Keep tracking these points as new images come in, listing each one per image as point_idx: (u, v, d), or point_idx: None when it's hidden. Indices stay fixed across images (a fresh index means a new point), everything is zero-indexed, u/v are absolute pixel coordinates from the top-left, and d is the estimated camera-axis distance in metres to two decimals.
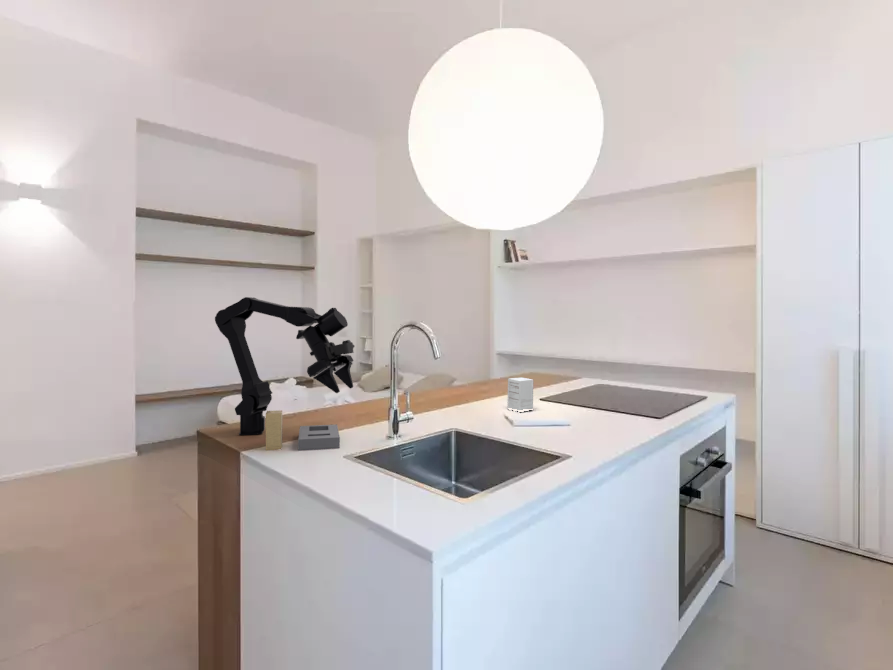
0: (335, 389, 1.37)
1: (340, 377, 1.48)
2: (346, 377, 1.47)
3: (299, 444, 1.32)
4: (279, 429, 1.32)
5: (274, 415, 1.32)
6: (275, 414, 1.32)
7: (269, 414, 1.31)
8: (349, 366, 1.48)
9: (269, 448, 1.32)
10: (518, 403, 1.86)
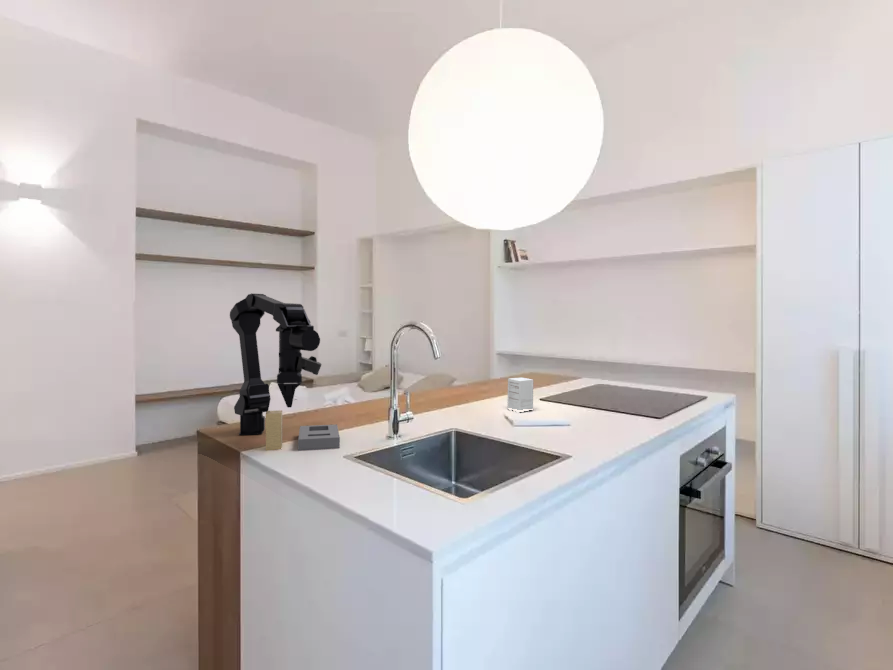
0: (289, 403, 1.31)
1: None
2: None
3: (299, 444, 1.32)
4: (279, 429, 1.32)
5: (274, 415, 1.32)
6: (275, 414, 1.32)
7: (269, 414, 1.31)
8: None
9: (269, 448, 1.32)
10: (518, 403, 1.86)
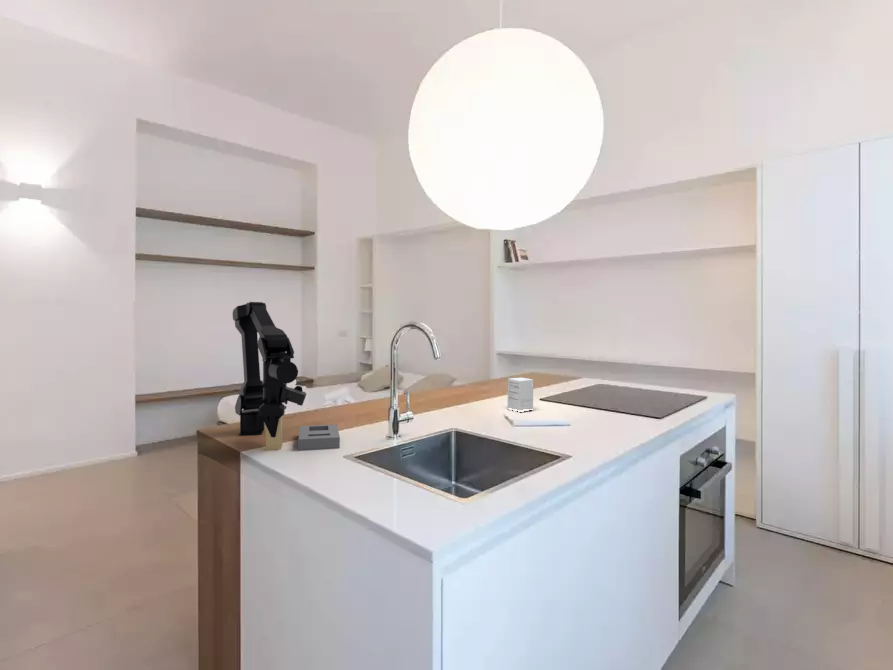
0: (273, 433, 1.31)
1: None
2: None
3: (299, 444, 1.32)
4: (279, 429, 1.32)
5: None
6: None
7: None
8: None
9: (269, 448, 1.32)
10: (518, 403, 1.86)
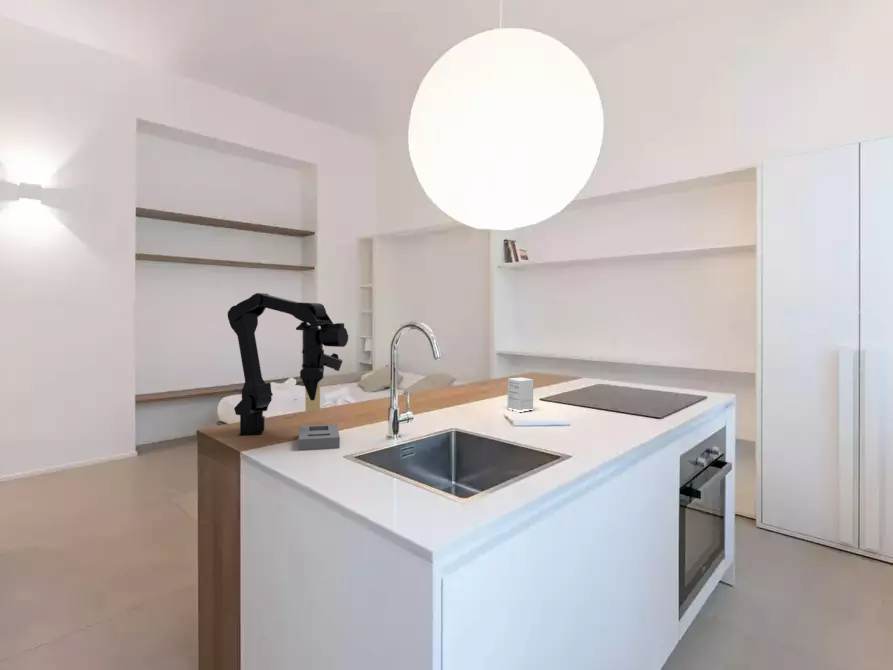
0: (312, 396, 1.40)
1: None
2: None
3: (299, 444, 1.32)
4: (318, 393, 1.41)
5: None
6: None
7: None
8: None
9: (308, 410, 1.40)
10: (518, 403, 1.86)
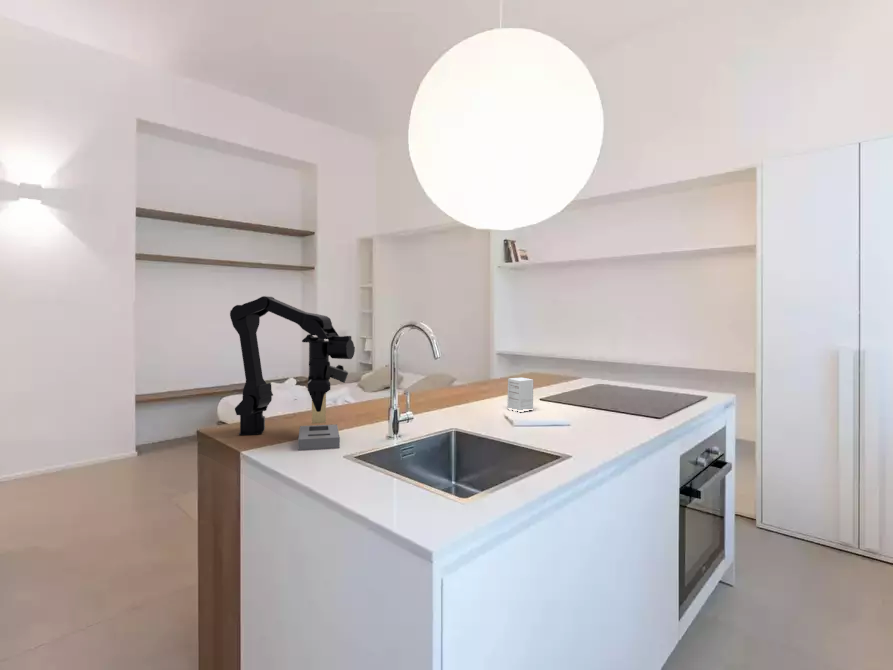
0: (318, 408, 1.42)
1: None
2: None
3: (299, 444, 1.32)
4: (324, 404, 1.43)
5: None
6: None
7: None
8: None
9: (315, 421, 1.42)
10: (518, 403, 1.86)
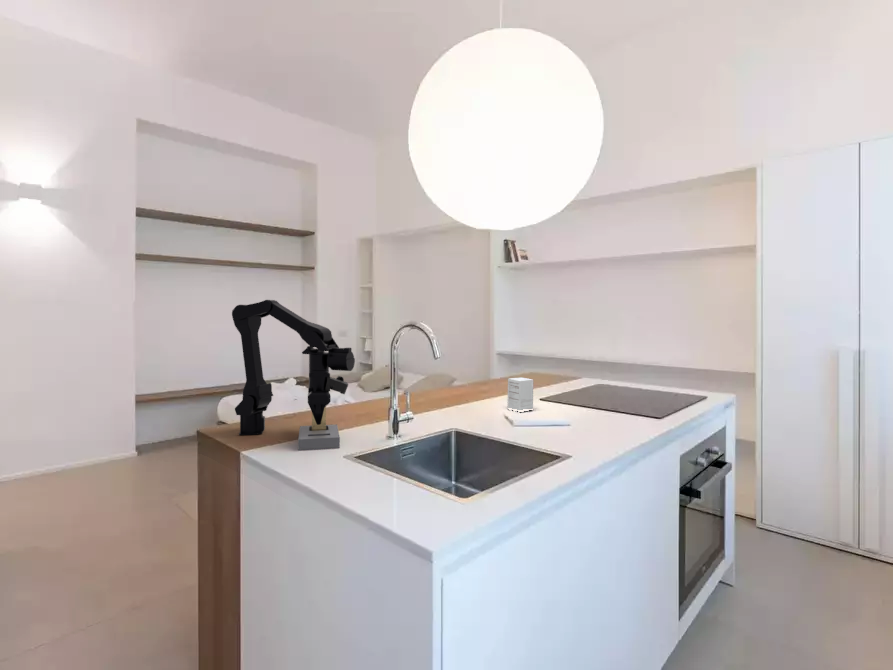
0: (318, 421, 1.40)
1: None
2: None
3: (299, 444, 1.32)
4: (324, 421, 1.43)
5: None
6: None
7: None
8: None
9: None
10: (518, 403, 1.86)
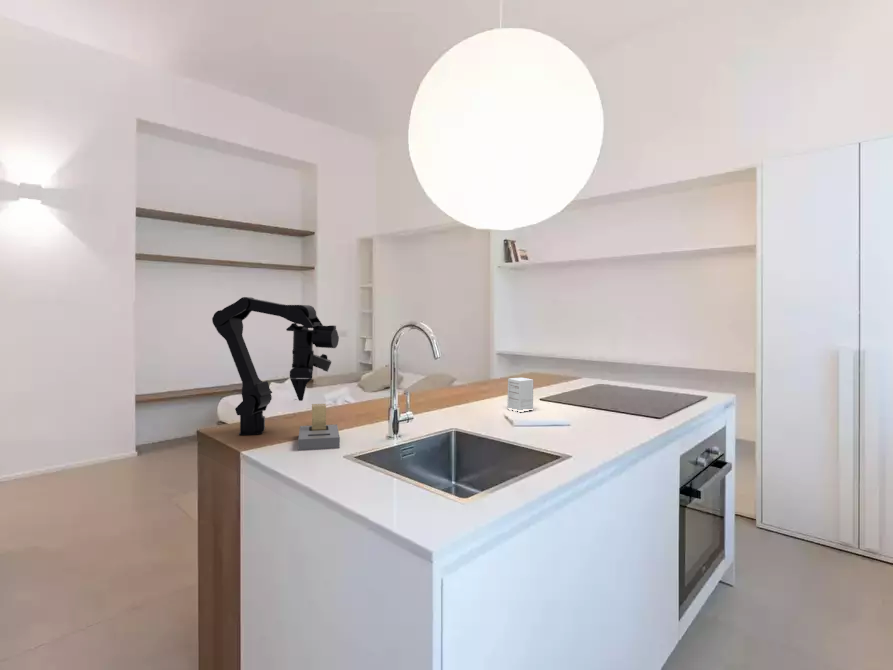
0: (300, 397, 1.42)
1: None
2: None
3: (299, 444, 1.32)
4: (324, 421, 1.43)
5: (319, 408, 1.42)
6: (320, 407, 1.42)
7: (315, 407, 1.42)
8: None
9: None
10: (518, 403, 1.86)
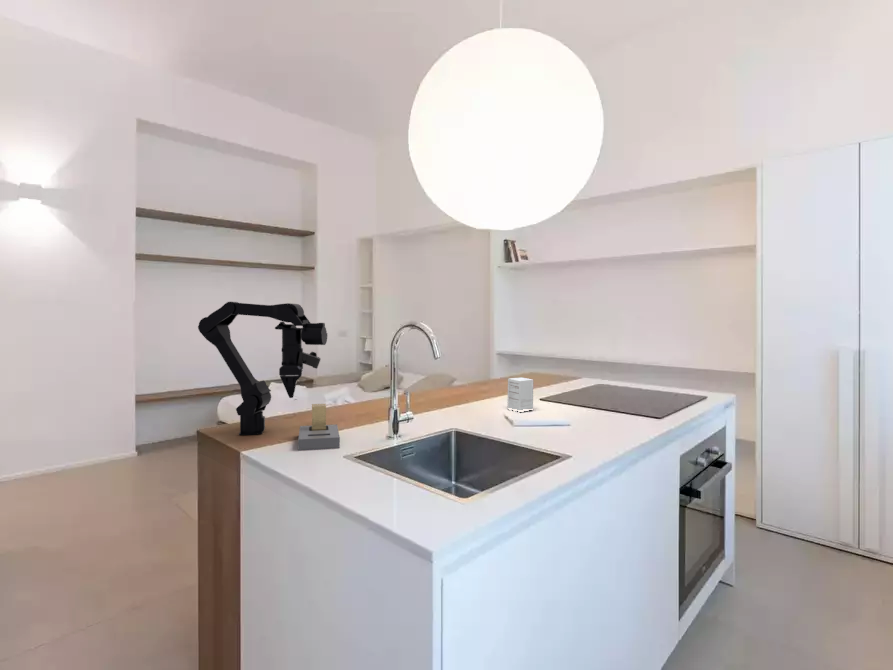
0: (291, 394, 1.44)
1: None
2: None
3: (299, 444, 1.32)
4: (324, 421, 1.43)
5: (319, 408, 1.42)
6: (320, 407, 1.42)
7: (315, 407, 1.42)
8: None
9: None
10: (518, 403, 1.86)
